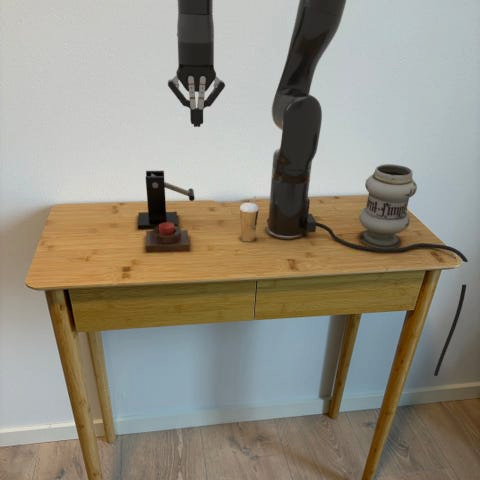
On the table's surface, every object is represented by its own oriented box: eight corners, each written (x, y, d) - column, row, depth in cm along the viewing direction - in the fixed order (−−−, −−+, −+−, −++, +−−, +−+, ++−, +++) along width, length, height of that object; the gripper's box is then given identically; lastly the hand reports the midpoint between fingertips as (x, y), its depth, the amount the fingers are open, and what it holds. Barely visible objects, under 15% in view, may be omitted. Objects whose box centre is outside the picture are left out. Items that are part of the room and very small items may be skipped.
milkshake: (261, 235, 124) (263, 197, 118) (252, 244, 120) (254, 205, 114) (244, 232, 125) (246, 194, 119) (235, 240, 121) (237, 201, 115)
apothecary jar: (348, 230, 128) (360, 161, 118) (392, 228, 130) (407, 160, 120) (365, 252, 119) (380, 178, 108) (412, 249, 120) (431, 177, 110)
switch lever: (191, 196, 128) (195, 187, 127) (192, 203, 124) (196, 195, 123) (148, 180, 124) (151, 171, 123) (148, 187, 120) (151, 178, 119)
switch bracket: (176, 215, 132) (175, 168, 125) (177, 228, 126) (175, 179, 118) (139, 216, 131) (134, 168, 123) (137, 229, 124) (133, 179, 117)
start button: (174, 228, 118) (174, 221, 117) (174, 235, 115) (174, 228, 114) (159, 229, 118) (158, 222, 117) (159, 235, 115) (158, 228, 114)
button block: (187, 236, 122) (187, 223, 120) (189, 251, 116) (188, 237, 114) (146, 237, 121) (145, 223, 119) (146, 252, 115) (144, 238, 113)
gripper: (163, 40, 98) (167, 130, 108) (229, 42, 100) (227, 130, 110) (163, 36, 104) (167, 121, 114) (225, 37, 106) (224, 122, 116)
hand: (197, 125), depth 112 cm, fingers closed
